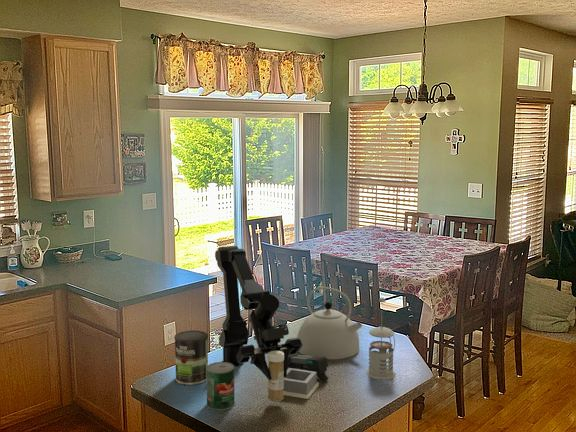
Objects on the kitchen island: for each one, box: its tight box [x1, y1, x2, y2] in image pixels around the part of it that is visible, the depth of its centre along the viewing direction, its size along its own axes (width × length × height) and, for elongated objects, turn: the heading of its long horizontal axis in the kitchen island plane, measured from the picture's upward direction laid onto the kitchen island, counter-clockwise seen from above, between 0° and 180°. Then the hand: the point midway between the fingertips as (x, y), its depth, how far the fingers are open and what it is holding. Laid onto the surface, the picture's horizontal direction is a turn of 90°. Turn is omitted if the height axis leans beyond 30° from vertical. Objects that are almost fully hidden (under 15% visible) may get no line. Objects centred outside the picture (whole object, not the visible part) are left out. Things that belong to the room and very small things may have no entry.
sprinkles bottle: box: [267, 351, 285, 402], centre depth 163 cm, size 5×5×13 cm
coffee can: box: [174, 329, 209, 386], centre depth 182 cm, size 10×10×14 cm
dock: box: [283, 368, 320, 400], centre depth 174 cm, size 10×10×4 cm
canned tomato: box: [206, 361, 236, 411], centre depth 164 cm, size 8×8×11 cm
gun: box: [287, 353, 329, 383], centre depth 187 cm, size 4×20×10 cm, turn 42°
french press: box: [365, 297, 397, 381], centre depth 186 cm, size 10×12×25 cm
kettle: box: [296, 286, 363, 360], centre depth 208 cm, size 25×23×22 cm
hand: (278, 378), depth 162 cm, fingers closed on sprinkles bottle, 4 cm apart
